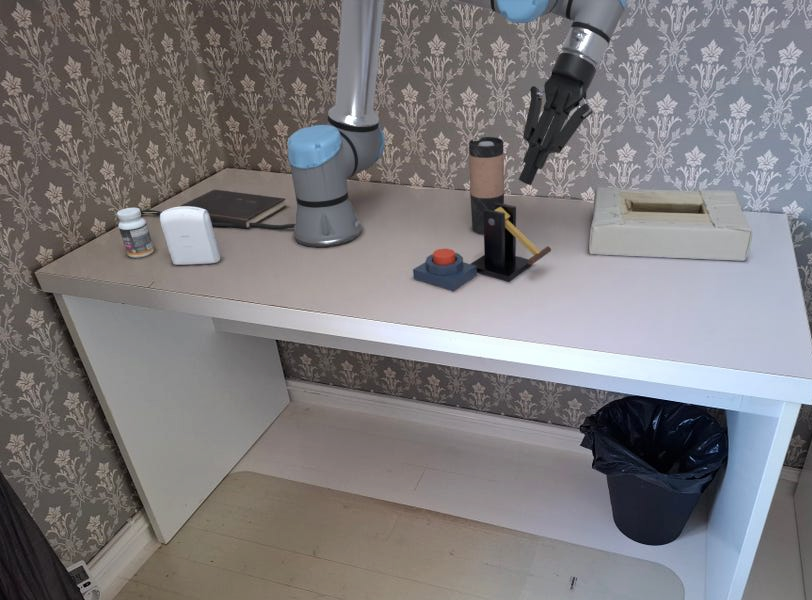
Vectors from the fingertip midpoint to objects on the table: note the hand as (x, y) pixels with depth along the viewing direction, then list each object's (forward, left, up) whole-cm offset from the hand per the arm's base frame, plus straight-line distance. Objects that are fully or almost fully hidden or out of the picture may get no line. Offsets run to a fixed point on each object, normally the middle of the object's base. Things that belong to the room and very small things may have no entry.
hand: (524, 182), depth 129 cm
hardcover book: (-80, -11, -18) cm, 83 cm away
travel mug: (-18, +14, -18) cm, 30 cm away
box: (+18, +30, -18) cm, 39 cm away
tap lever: (-1, -2, -11) cm, 11 cm away
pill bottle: (-77, -38, -18) cm, 88 cm away
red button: (-11, -11, -15) cm, 22 cm away
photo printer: (-62, -34, -18) cm, 73 cm away
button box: (-11, -11, -18) cm, 24 cm away
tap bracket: (-4, -2, -18) cm, 19 cm away
